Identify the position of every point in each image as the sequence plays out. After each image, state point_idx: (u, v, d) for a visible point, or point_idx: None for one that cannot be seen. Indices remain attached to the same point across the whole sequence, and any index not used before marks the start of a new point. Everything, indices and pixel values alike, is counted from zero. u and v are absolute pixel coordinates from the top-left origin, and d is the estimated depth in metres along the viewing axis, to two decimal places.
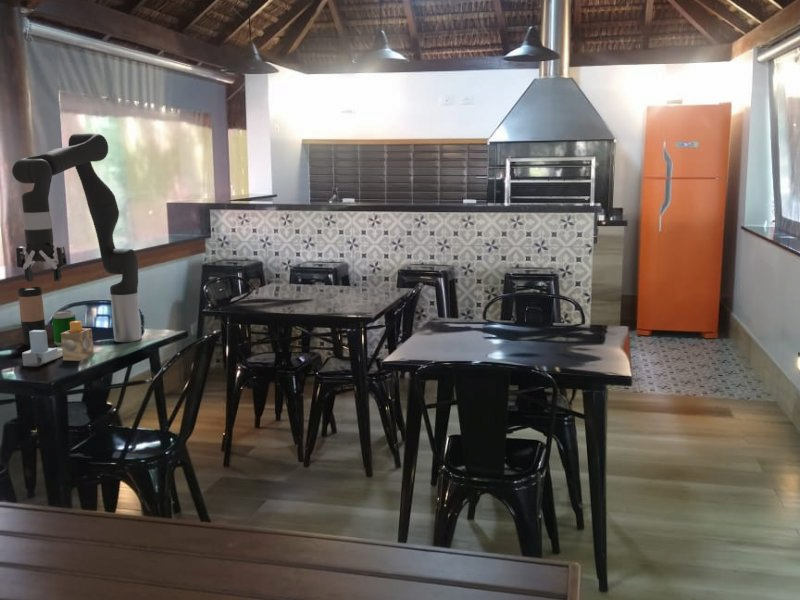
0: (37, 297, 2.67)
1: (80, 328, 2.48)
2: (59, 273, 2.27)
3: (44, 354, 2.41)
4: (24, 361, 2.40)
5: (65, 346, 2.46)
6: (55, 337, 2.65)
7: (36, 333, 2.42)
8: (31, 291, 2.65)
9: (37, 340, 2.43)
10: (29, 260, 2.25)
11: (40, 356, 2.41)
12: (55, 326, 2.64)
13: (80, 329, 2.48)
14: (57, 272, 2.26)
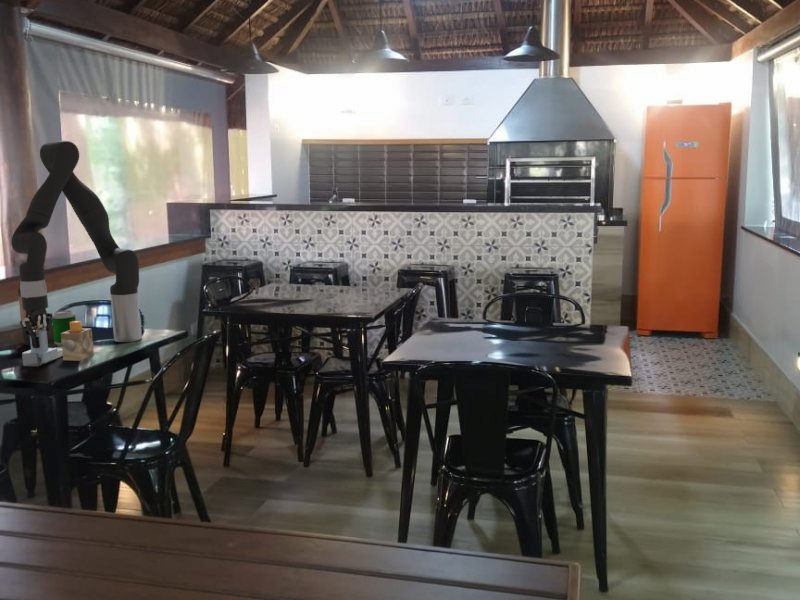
0: None
1: (80, 328, 2.48)
2: None
3: (44, 354, 2.41)
4: (24, 361, 2.40)
5: (65, 346, 2.46)
6: (55, 337, 2.65)
7: None
8: None
9: None
10: (39, 326, 2.42)
11: (40, 356, 2.41)
12: (55, 326, 2.64)
13: (80, 329, 2.48)
14: None
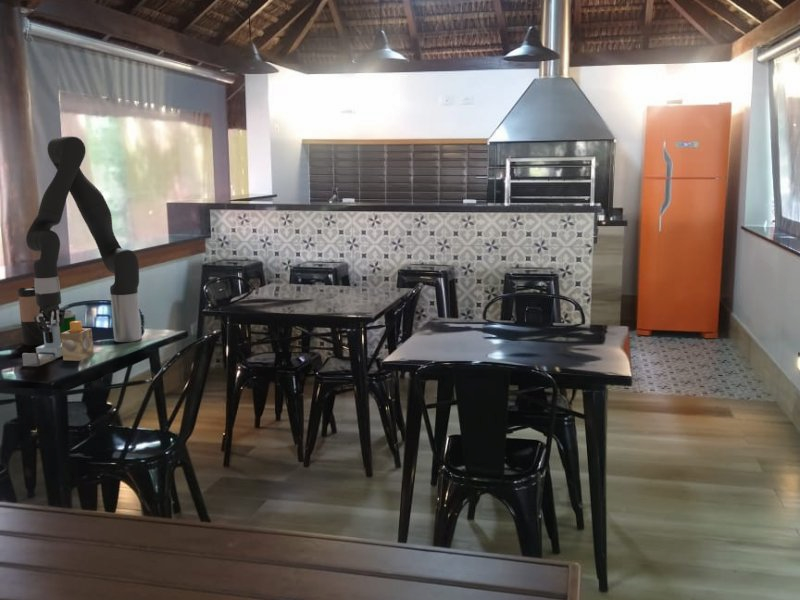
0: None
1: (80, 328, 2.48)
2: None
3: (58, 348, 2.48)
4: (24, 361, 2.40)
5: (65, 346, 2.46)
6: None
7: None
8: (31, 291, 2.65)
9: None
10: (52, 321, 2.48)
11: (53, 351, 2.48)
12: None
13: (80, 329, 2.48)
14: None
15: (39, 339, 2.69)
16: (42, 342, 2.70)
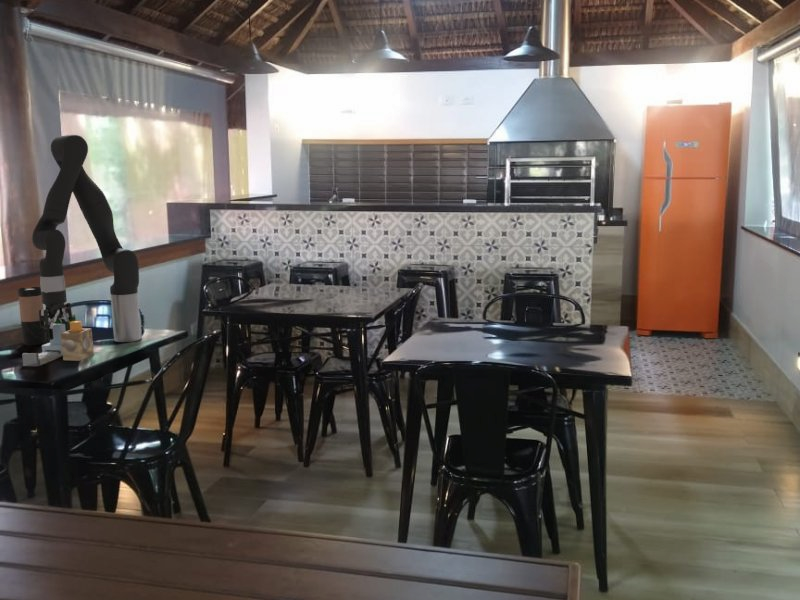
0: (37, 297, 2.67)
1: (80, 328, 2.48)
2: None
3: None
4: (24, 361, 2.40)
5: (65, 346, 2.46)
6: None
7: (55, 326, 2.52)
8: (31, 291, 2.65)
9: (56, 334, 2.52)
10: (55, 319, 2.50)
11: (59, 348, 2.51)
12: None
13: (80, 329, 2.48)
14: (67, 325, 2.58)
15: (39, 339, 2.69)
16: (42, 342, 2.70)
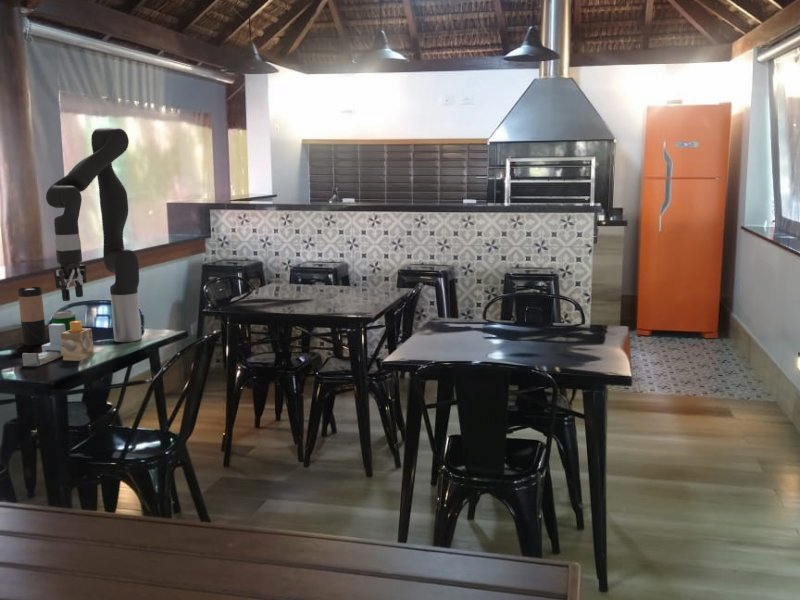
0: (37, 297, 2.67)
1: (80, 328, 2.48)
2: None
3: None
4: (24, 361, 2.40)
5: (65, 346, 2.46)
6: None
7: (55, 326, 2.52)
8: (31, 291, 2.65)
9: (56, 334, 2.52)
10: (71, 279, 2.43)
11: (59, 348, 2.51)
12: None
13: (80, 329, 2.48)
14: (81, 288, 2.51)
15: (39, 339, 2.69)
16: (42, 342, 2.70)
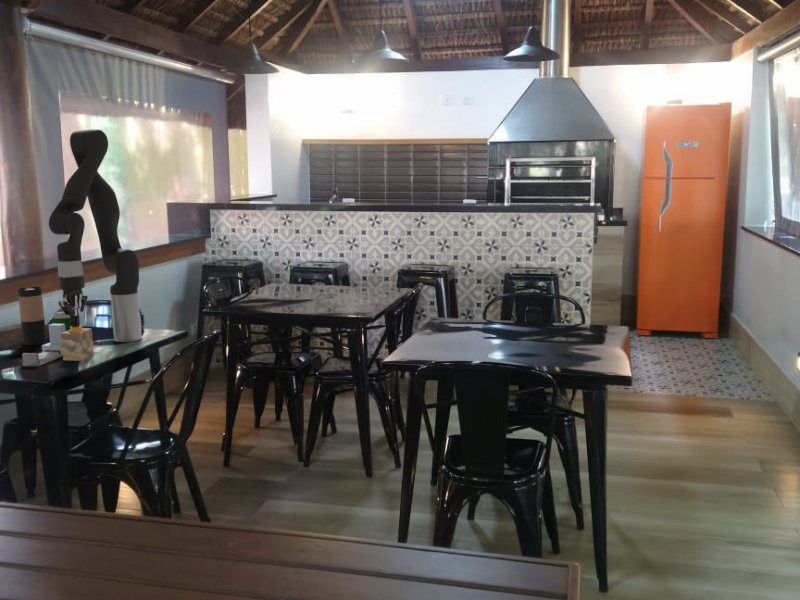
0: (37, 297, 2.67)
1: None
2: None
3: None
4: (24, 361, 2.40)
5: (65, 346, 2.46)
6: None
7: (55, 326, 2.52)
8: (31, 291, 2.65)
9: (56, 334, 2.52)
10: (76, 305, 2.46)
11: (59, 348, 2.51)
12: None
13: None
14: (78, 317, 2.49)
15: (39, 339, 2.69)
16: (42, 342, 2.70)
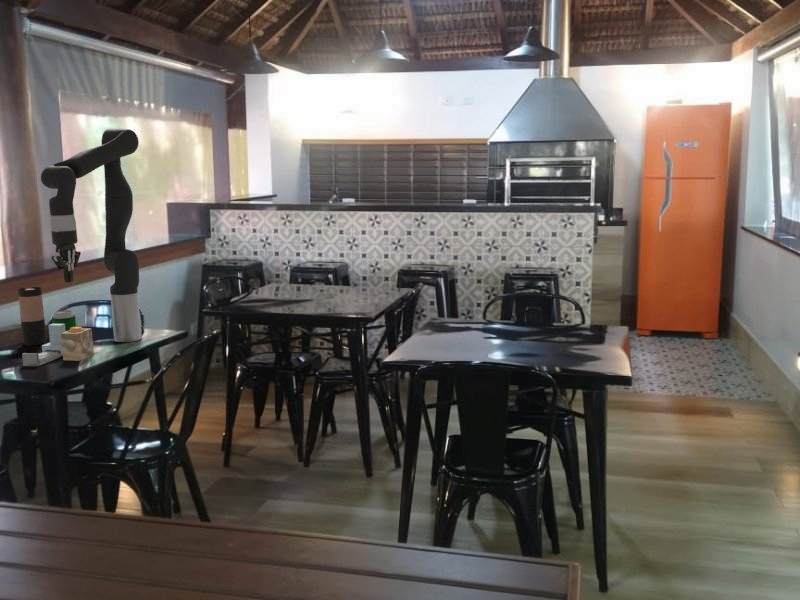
0: (37, 297, 2.67)
1: None
2: None
3: None
4: (24, 361, 2.40)
5: (65, 346, 2.46)
6: None
7: (55, 326, 2.52)
8: (31, 291, 2.65)
9: (56, 334, 2.52)
10: (70, 260, 2.45)
11: (59, 348, 2.51)
12: None
13: None
14: None
15: (39, 339, 2.69)
16: (42, 342, 2.70)
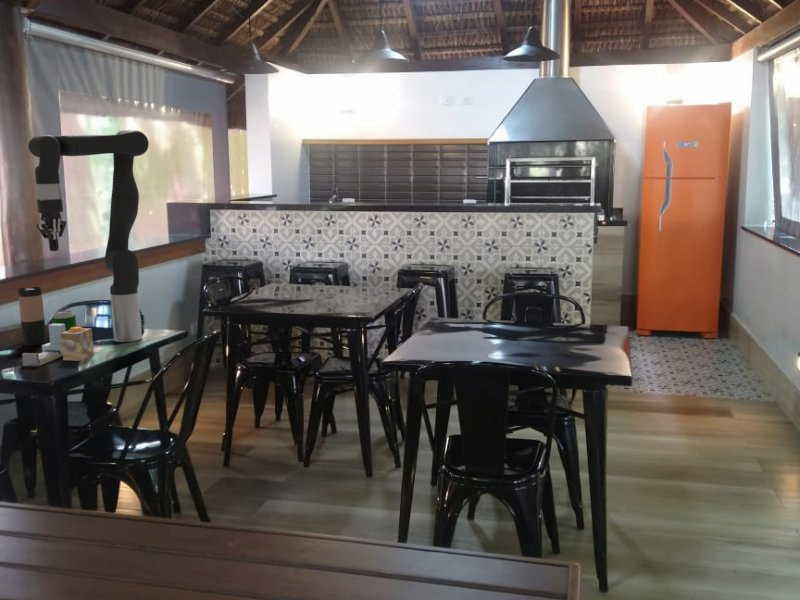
0: (37, 297, 2.67)
1: None
2: None
3: None
4: (24, 361, 2.40)
5: (65, 346, 2.46)
6: None
7: (55, 326, 2.52)
8: (31, 291, 2.65)
9: (56, 334, 2.52)
10: (55, 229, 2.47)
11: (59, 348, 2.51)
12: None
13: None
14: (57, 242, 2.50)
15: (39, 339, 2.69)
16: (42, 342, 2.70)
